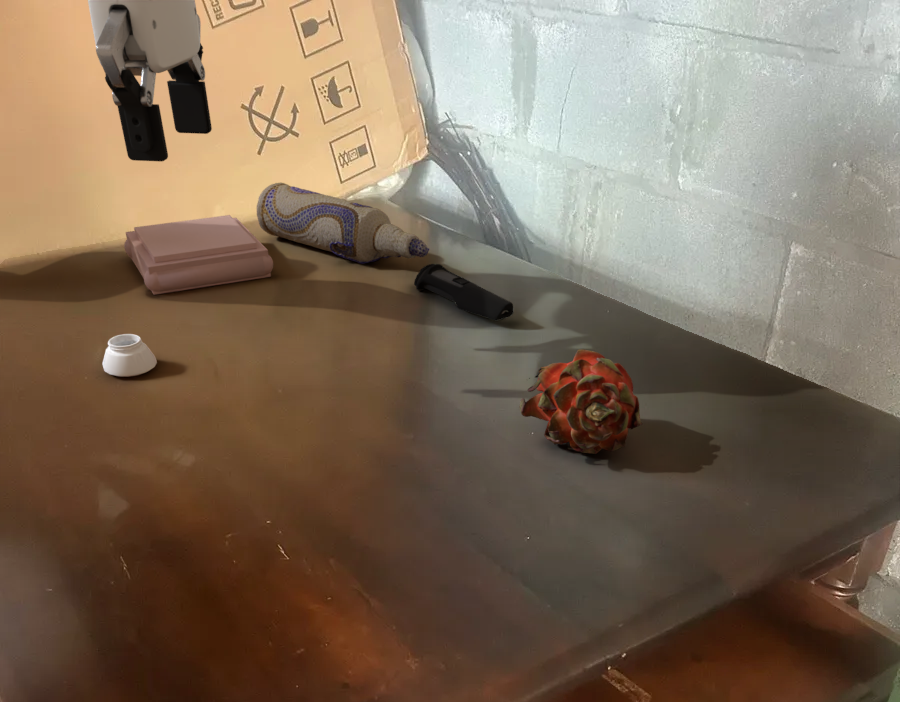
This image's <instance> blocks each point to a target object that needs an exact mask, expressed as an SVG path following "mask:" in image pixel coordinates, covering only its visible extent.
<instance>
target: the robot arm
mask: <svg viewBox="0 0 900 702" xmlns="http://www.w3.org/2000/svg"><path fill="white" fill-rule="evenodd" d="M87 5H88V9H89V15H90V21H91V27H92V33H93V38H94V44H95V52H96V56H97V58H98V61H99V64H100V66H101V67H102V69H103V71H104V74H105V76H104V80H105V82H106V84H107V86H108V88H109V90H110V91H111V94H112V95H111V97H112V101H113V103H114V105H115V106H116V107H117V111H118V115H119V120H120V124H121V130H122V135H123V139H124V145H125V149H126V154H127V157H128V159H129V160H130V161H137V162H138V161H139V162H141V161H142V162H164V161H166V160H168V158H169V153H168V147H167V142H166V137H165V130H164V125H163V121H162V120H163V119H162V114H161V109H160V108H161V107H160V104H159V103H157V104H156V103H154V95H155V87H156V78H157V77H156V76H157V74H161V73H164V72H166V71H167V73H168V74H169V77H170V78H171V80H167V81H166V84H167V90H168V96H169V101H170V108H171V112H172V118H173V124H174V129H175V131H176V132H177V133H179V134H198V135H200V134H205V135H207V134H209V133H211V131H212V130H213V127H212V121H211V114H210V108H209V102H208V101H209V100H208V95H207V87H206V81H205V79H206V70H205V67H204V64H203V62H202V60H203V54H204V51H203V49H204V47H203V45H202V43H201V28H202V27H201V26H202V25H201V18H200V15H199V14H198V11H197V3H196V0H87ZM136 77H141V78H140V82H139V81H138V80H137V78H136Z"/></svg>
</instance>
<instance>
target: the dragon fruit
mask: <svg viewBox="0 0 900 702" xmlns="http://www.w3.org/2000/svg"><path fill="white" fill-rule="evenodd" d="M572 359H573V360H572V361H569V362H553V363H549V364H548V365H546V366H541V367H540V368H539V369H538V372H537V373H536V374H535V375H534V378H537V381H536V382H535V383H534V384H533V385H532V386H530V387H529V388H528V389H527V392H529V393H531V392H533V391H535V390H536V391H538V392H540V393H537V394H535V395H534V396H532V397H530V398H529V399H527V400H526V399H525V398H524V397H523V398H521V399H520V401H519V411H520V414H521V416H522V417H524V418H529V417H534V418H536V419H538V420H541V421H545V422H547V425H546V428H545V431H544V434H543V435H544V437H545V438H546V439H547V440H548V441H549V442H550V443H552V444H553V445H555V446H556V445H564V444H569V446H570V448H571V449H573V450H574V451H576V452H580V453H583V454H592V455H596V454H598V453H599V452H600V451H601V450H605V451H608V452H611V453H612V452H614V451H617V450H619V449H621V448H623V447H625V446H626V443H627V442H626V441H627V439H628V434H629V429H630V430H633V429H636V428H637V427H639V426H642V425H643V422H642V421H641V414H640V401H639V398H638V396H637V395H635V394H634V383H633V380H632V378H631V376H630V375H629V373H628V371H627V369H625V367H624V366H623V365H622V364H621V363H619V362H613V361H612V360H611V359H609V358H606V357H605V356H604V355H603V354H601V353H600V352H597V351H595V350H587V349H584V348H583V349H577V351H576V353H575V354H574V357H573V358H572ZM529 379H531V377H528V379H526V382H527V381H528V380H529Z"/></svg>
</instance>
